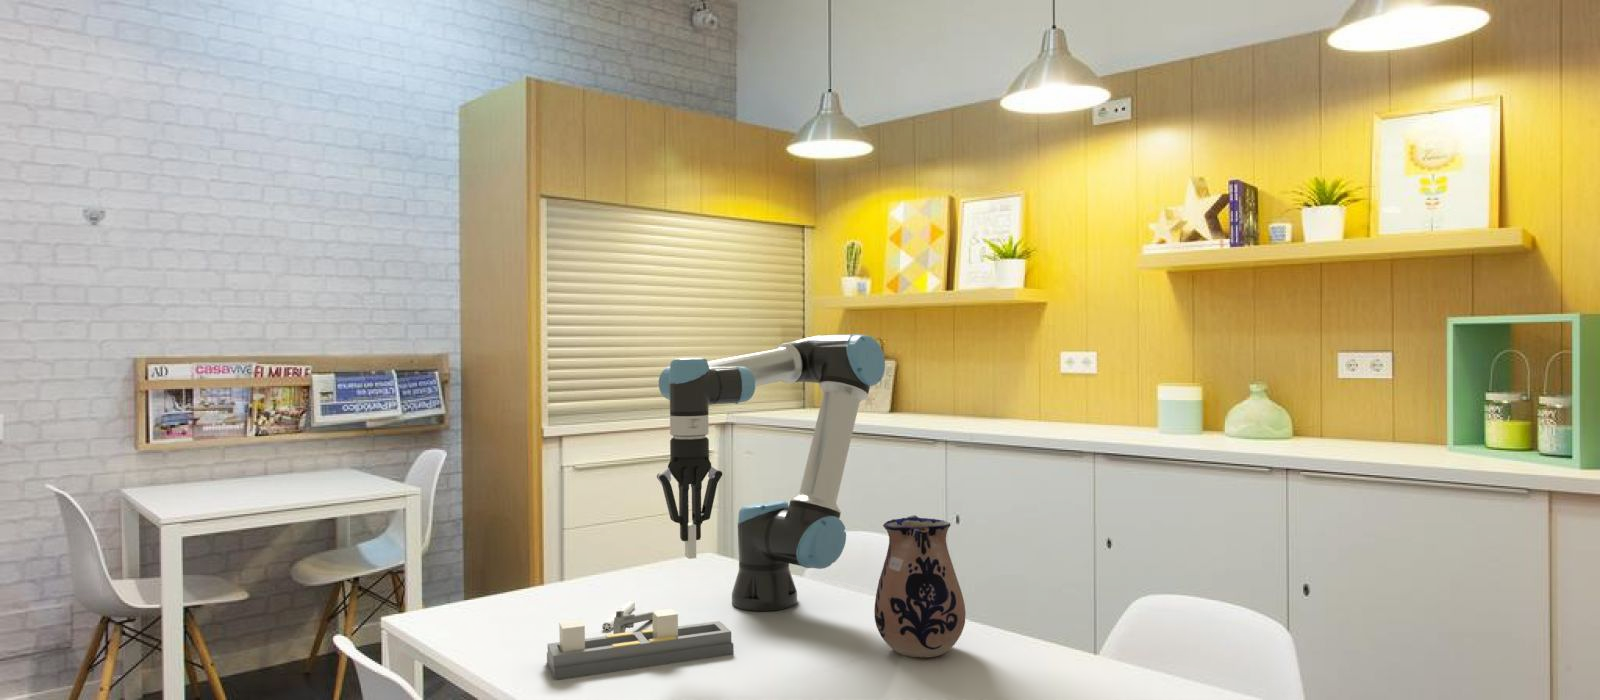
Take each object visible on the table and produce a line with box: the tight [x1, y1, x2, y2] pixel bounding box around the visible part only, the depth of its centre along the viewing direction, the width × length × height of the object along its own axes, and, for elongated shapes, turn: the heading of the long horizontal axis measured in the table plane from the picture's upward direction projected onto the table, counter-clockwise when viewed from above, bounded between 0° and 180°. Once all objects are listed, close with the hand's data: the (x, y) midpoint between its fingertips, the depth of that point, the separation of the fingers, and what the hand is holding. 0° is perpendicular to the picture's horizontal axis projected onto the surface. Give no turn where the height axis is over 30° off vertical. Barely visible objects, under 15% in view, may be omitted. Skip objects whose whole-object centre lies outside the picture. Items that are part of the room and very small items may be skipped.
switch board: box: [546, 620, 735, 681], centre depth 183 cm, size 34×10×4 cm, turn 113°
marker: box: [601, 600, 636, 631], centre depth 210 cm, size 18×2×2 cm, turn 172°
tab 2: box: [651, 608, 679, 639], centre depth 185 cm, size 4×4×6 cm
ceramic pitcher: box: [874, 514, 967, 658], centre depth 187 cm, size 18×21×25 cm
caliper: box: [612, 610, 653, 634], centre depth 203 cm, size 20×1×6 cm, turn 162°
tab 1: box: [558, 619, 586, 652], centre depth 178 cm, size 4×4×6 cm
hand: (690, 556), depth 187 cm, fingers closed
